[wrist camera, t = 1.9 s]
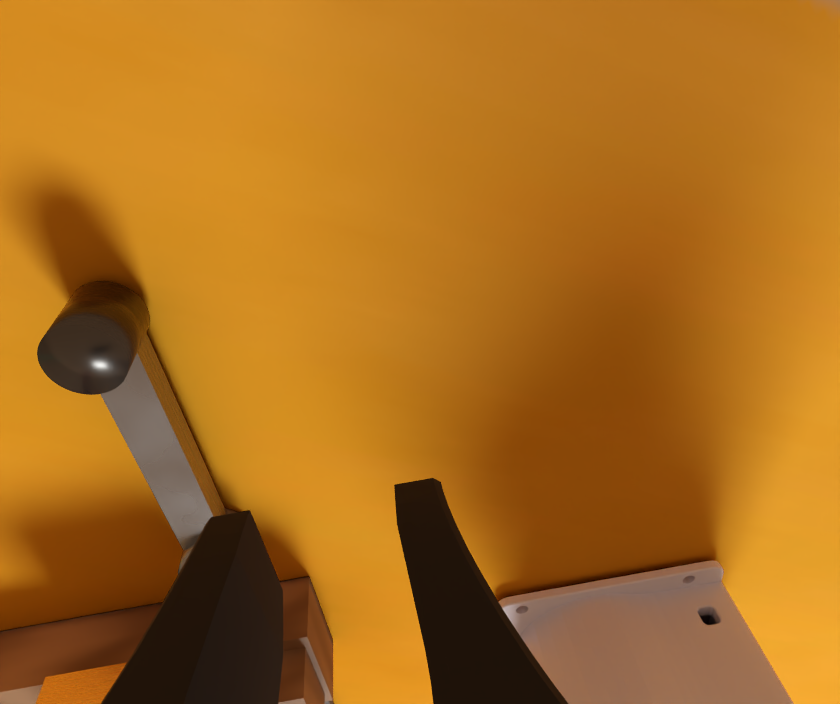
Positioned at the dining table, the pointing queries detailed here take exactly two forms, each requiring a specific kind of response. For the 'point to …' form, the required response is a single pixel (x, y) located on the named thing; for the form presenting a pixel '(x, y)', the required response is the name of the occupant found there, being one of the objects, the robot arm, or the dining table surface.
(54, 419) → the dining table surface
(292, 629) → the plane body
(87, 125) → the dining table surface
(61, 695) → the wooden block
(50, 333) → the lever
